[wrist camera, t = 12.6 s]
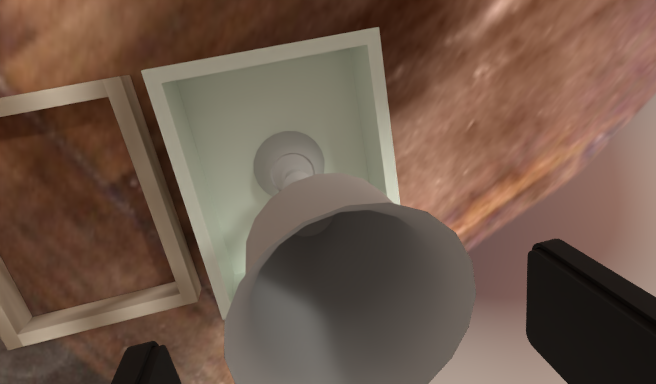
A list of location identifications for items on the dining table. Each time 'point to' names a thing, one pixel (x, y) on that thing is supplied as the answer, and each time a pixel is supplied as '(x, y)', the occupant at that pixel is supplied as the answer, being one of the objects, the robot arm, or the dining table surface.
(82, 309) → the ash frame
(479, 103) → the dining table surface
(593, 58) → the dining table surface
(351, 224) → the chalice
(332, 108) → the sage bin
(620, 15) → the dining table surface
